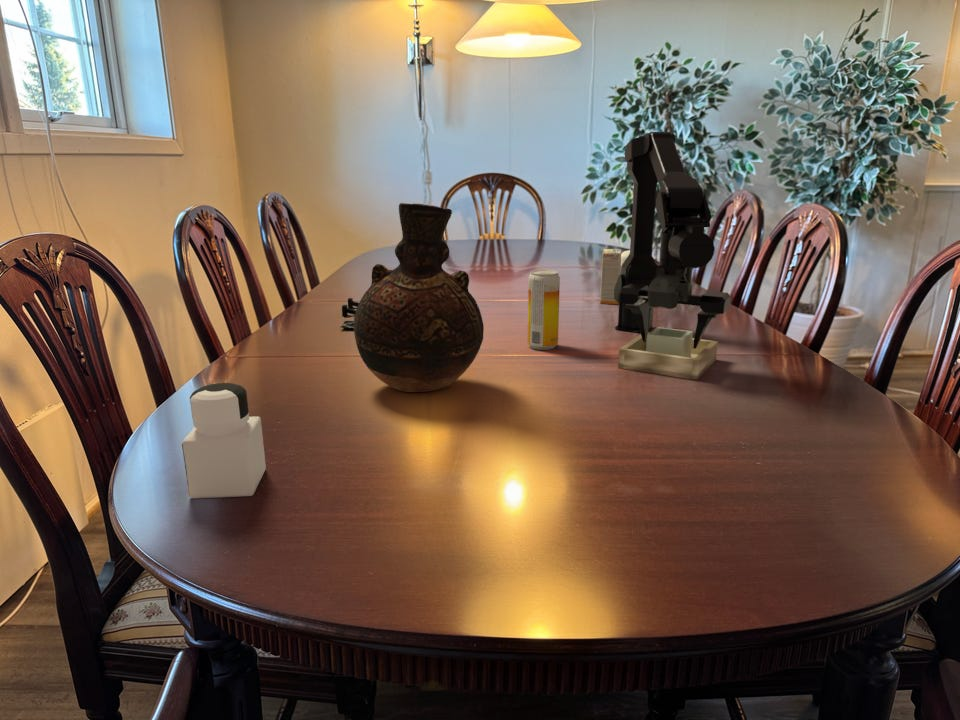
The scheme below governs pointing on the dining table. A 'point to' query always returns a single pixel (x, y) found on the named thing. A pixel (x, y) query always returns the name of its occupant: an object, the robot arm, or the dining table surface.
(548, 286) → the beer can
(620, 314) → the robot arm
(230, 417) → the medicine bottle
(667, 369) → the tray
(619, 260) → the supplement box
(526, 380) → the dining table surface
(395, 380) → the ceramic vessel
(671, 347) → the sage crate
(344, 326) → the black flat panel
